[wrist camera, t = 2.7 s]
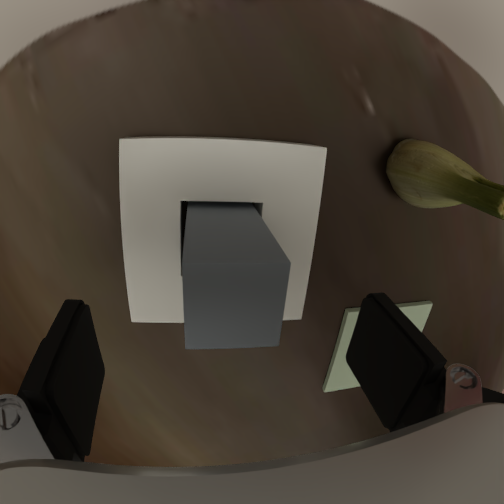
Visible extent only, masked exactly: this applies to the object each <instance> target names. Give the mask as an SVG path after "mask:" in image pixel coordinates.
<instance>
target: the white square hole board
mask: <svg viewBox="0 0 504 504" xmlns="http://www.w3.org/2000/svg"><path fill="white" fill-rule="evenodd" d="M326 153H327V148H325V147H321V146H316V145H311V144H303V143H293V142H283V141H271V140H259V139H244V138H224V137H192V136H151V137H127V138H123V139H119V185H120V212H121V230H122V244H123V255H124V266H125V276H126V284H127V293H128V300H129V308H130V315H131V321H132V322H154V323H184V310H183V281H182V201H223V202H255V209H256V210H257V212H258V213H259V215H260V216H261V218H262V219H263V221H264V222H265V224H266V225H267V227H268V228H269V230H270V231H271V233H272V234H273V236H274V237H275V239H276V240H277V242H278V244H279V245H280V247H281V248H282V250H283V251H284V253H285V254H286V256H287V257H288V259H289V260H290V262H291V267H290V274H289V281H288V288H287V295H286V301H285V308H284V315H283V320H297V319H301V318H302V312H303V307H304V302H305V296H306V291H307V285H308V279H309V273H310V267H311V261H312V255H313V249H314V242H315V236H316V229H317V222H318V215H319V208H320V201H321V194H322V186H323V178H324V170H325V161H326Z"/></svg>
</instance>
